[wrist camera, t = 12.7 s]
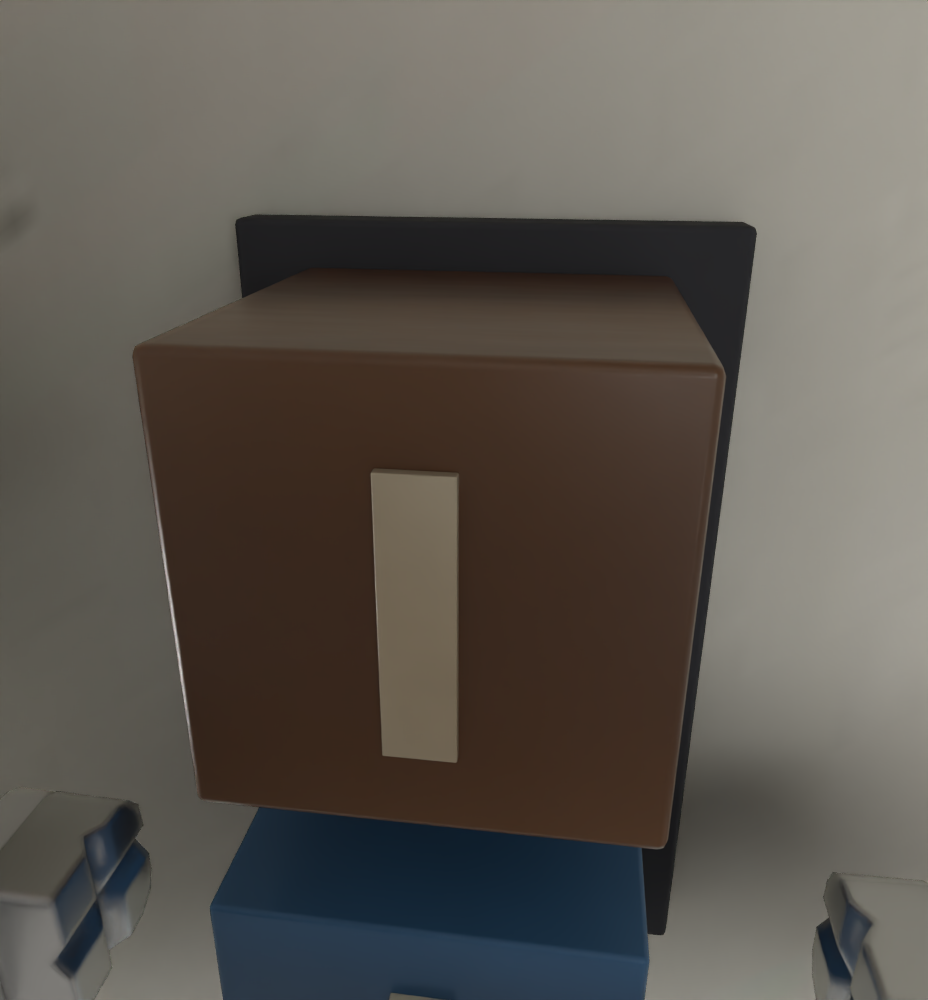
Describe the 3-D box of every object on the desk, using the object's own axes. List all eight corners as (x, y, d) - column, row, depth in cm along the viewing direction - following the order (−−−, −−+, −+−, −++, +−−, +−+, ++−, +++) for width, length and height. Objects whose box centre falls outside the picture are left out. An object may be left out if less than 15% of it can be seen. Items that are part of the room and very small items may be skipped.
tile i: (306, 266, 9) (117, 347, 6) (674, 275, 9) (731, 371, 5) (326, 585, 11) (189, 813, 7) (641, 607, 11) (669, 866, 7)
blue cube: (329, 663, 11) (202, 916, 8) (631, 688, 11) (651, 972, 7) (344, 885, 13) (243, 1185, 9) (609, 916, 13) (616, 1247, 9)
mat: (251, 214, 10) (231, 217, 9) (749, 221, 9) (758, 227, 9) (308, 864, 14) (297, 894, 13) (662, 905, 13) (664, 938, 13)
